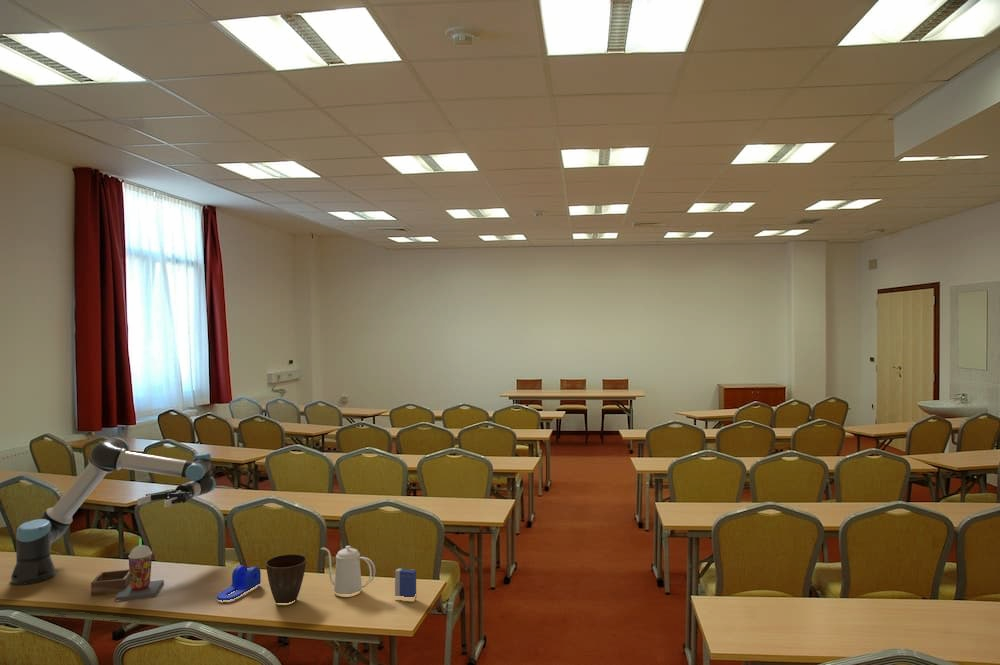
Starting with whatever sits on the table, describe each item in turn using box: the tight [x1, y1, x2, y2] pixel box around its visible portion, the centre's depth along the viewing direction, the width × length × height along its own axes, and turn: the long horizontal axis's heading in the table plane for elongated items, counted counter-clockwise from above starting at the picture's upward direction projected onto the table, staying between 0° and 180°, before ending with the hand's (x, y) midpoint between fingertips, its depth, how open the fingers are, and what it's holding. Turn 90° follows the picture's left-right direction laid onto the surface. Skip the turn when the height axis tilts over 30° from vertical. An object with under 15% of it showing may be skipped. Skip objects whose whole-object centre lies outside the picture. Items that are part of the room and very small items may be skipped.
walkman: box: [394, 567, 417, 597], centre depth 239 cm, size 8×3×12 cm, turn 74°
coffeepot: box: [320, 545, 376, 594], centre depth 247 cm, size 11×25×19 cm, turn 73°
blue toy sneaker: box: [216, 564, 262, 601], centre depth 246 cm, size 18×8×9 cm, turn 164°
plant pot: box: [265, 553, 307, 604], centre depth 238 cm, size 15×15×16 cm
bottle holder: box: [90, 568, 130, 596], centre depth 252 cm, size 12×12×5 cm
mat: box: [114, 579, 165, 602], centre depth 247 cm, size 14×14×2 cm
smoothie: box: [127, 537, 153, 591], centre depth 248 cm, size 8×8×20 cm
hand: (151, 503), depth 262 cm, fingers open, 13 cm apart
